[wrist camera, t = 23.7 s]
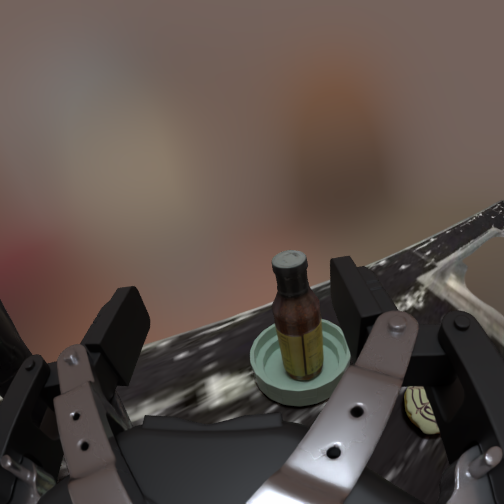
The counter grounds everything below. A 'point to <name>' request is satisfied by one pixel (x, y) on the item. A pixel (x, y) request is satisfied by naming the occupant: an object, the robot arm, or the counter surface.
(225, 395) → the counter surface
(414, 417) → the decorated donut
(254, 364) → the bowl
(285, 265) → the sauce bottle
